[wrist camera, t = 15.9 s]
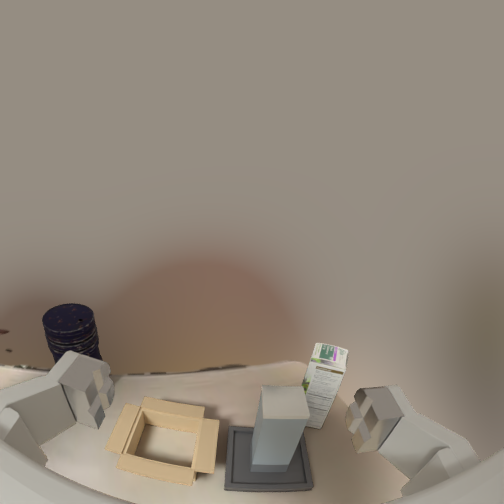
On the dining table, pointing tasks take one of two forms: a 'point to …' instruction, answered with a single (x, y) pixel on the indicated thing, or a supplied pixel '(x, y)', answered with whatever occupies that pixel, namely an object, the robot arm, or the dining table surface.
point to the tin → (277, 427)
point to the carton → (168, 417)
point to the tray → (248, 481)
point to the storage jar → (71, 331)
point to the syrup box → (323, 381)
